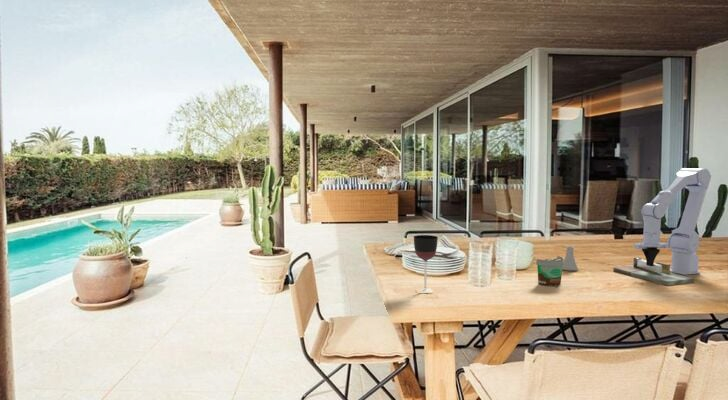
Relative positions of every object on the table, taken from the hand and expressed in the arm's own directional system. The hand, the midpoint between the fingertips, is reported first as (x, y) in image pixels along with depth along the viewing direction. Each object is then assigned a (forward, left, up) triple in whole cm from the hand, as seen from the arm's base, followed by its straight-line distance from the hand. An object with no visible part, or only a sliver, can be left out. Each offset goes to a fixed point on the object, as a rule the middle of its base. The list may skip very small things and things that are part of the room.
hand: (649, 265), depth 184 cm
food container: (+47, -1, -4) cm, 47 cm away
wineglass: (+97, -9, -4) cm, 97 cm away
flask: (+23, -19, -4) cm, 30 cm away
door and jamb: (+1, +2, -4) cm, 4 cm away
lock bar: (-2, -3, -2) cm, 4 cm away
